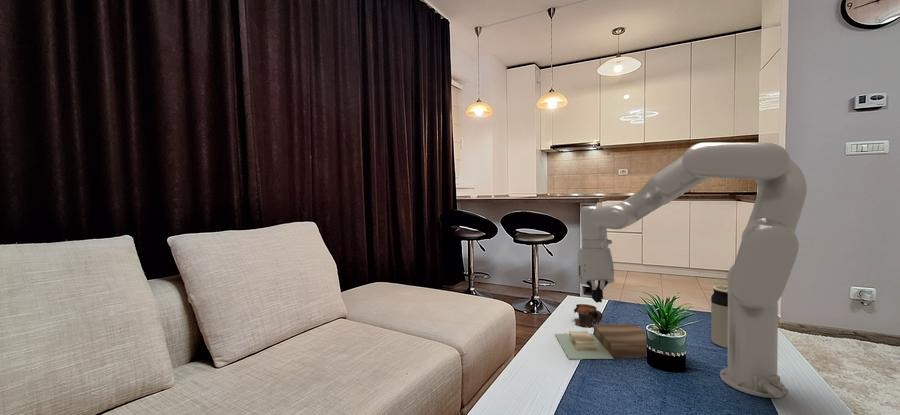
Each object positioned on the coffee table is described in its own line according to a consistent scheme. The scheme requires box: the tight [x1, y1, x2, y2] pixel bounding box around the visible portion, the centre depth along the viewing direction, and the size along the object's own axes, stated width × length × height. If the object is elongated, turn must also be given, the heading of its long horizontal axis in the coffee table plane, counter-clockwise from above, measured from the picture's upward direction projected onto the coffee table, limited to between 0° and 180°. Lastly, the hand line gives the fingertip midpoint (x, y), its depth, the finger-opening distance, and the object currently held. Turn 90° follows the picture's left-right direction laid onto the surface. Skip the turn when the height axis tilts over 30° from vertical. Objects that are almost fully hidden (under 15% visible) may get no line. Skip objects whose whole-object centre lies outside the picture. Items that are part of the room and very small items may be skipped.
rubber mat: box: [554, 332, 615, 361], centre depth 113 cm, size 18×13×1 cm
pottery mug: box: [573, 303, 603, 328], centre depth 131 cm, size 12×10×8 cm
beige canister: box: [710, 284, 728, 349], centre depth 110 cm, size 8×8×18 cm
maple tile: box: [568, 330, 597, 351], centre depth 113 cm, size 9×6×2 cm, turn 175°
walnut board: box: [593, 323, 647, 359], centre depth 112 cm, size 16×14×4 cm
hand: (597, 301), depth 111 cm, fingers closed
